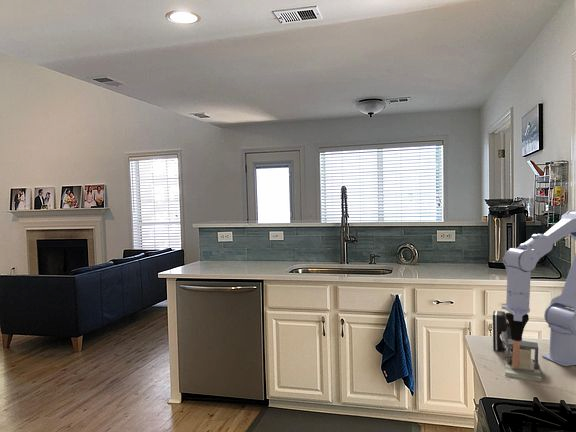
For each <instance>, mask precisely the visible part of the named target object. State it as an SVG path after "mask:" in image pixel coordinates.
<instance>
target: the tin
mask: <svg viewBox="0 0 576 432" xmlns="http://www.w3.org/2000/svg"><path fill="white" fill-rule="evenodd" d="M500 338H501V340H502V342H503V343H504V344H505V346H507V348H508V339H512V338H511V331H510V325H509V322H508V320H507V330H506V332H502V334H500ZM521 341H523V337H522V338H521ZM511 351H512V352H513V346H510V352H511Z"/></svg>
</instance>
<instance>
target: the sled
mask: <svg viewBox="0 0 576 432" xmlns="http://www.w3.org/2000/svg"><path fill="white" fill-rule="evenodd" d="M512 356H513V357H511V367H512V369H517V370H523V371H529V372H534V365H533V360H534V359H533V360H531V359H532V349H527V348H520V340H515V339H513V351H512Z"/></svg>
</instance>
